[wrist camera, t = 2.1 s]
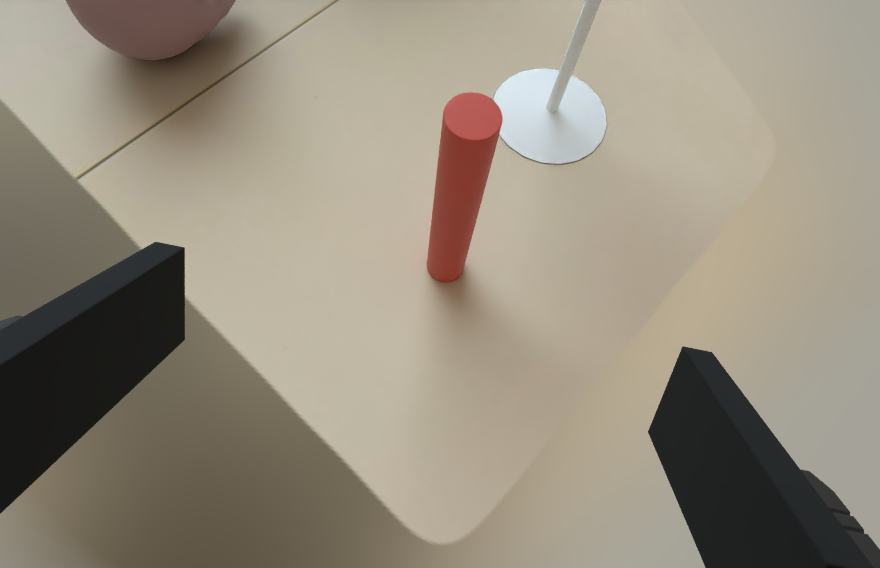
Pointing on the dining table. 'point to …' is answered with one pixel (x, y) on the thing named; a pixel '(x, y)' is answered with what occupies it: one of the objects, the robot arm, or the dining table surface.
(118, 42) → the figurine
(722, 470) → the robot arm
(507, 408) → the dining table surface
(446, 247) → the red round dowel
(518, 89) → the wineglass
